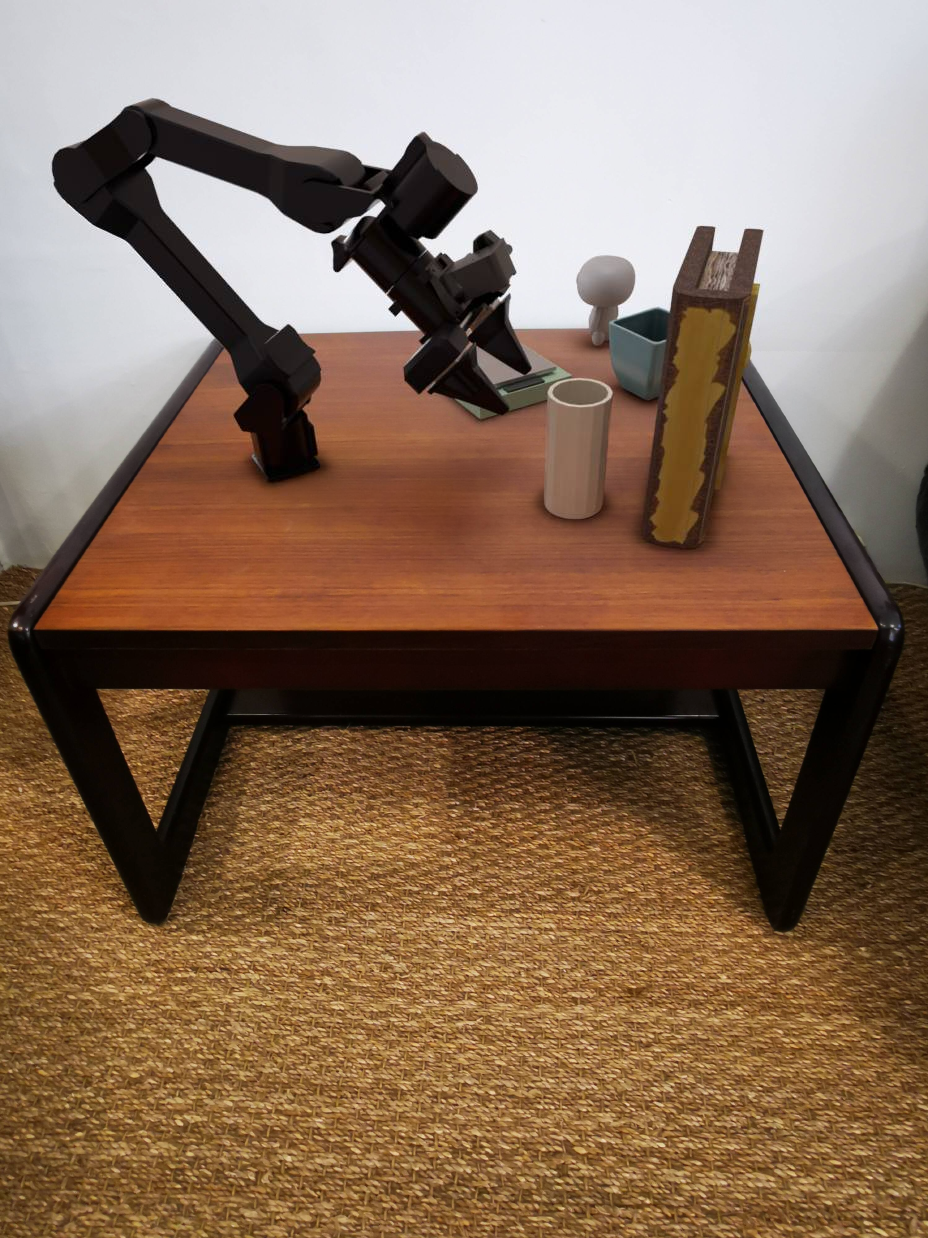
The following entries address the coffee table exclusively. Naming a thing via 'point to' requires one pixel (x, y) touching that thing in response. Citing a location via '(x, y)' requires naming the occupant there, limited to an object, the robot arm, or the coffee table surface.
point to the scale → (523, 391)
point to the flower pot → (639, 350)
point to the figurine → (604, 291)
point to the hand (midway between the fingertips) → (518, 391)
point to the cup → (576, 447)
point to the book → (699, 385)
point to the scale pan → (505, 374)
